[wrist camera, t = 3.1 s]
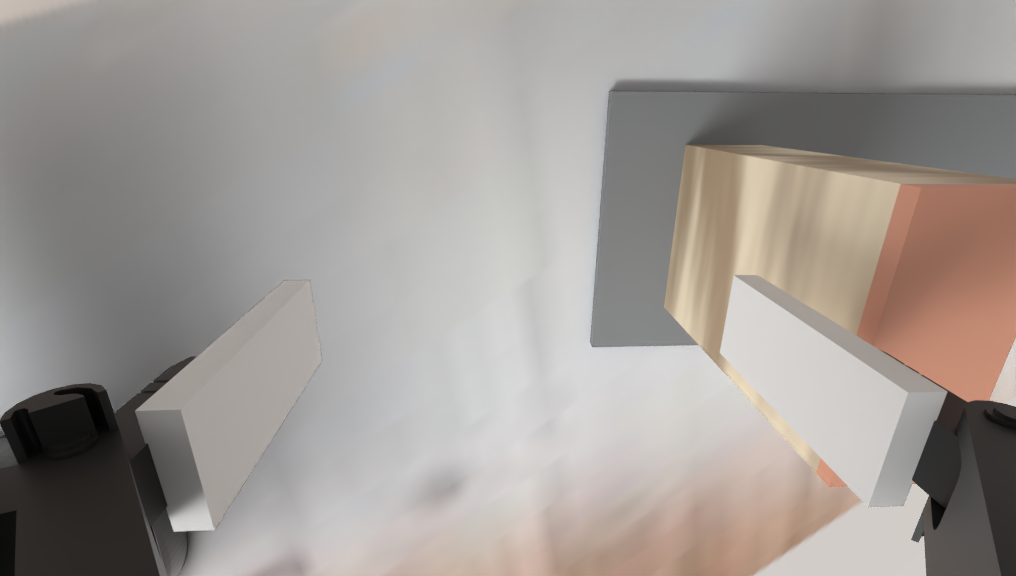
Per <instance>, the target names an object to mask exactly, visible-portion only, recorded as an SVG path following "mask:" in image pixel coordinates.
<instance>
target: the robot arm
mask: <svg viewBox="0 0 1016 576" xmlns="http://www.w3.org/2000/svg"><path fill="white" fill-rule="evenodd" d="M720 354H721V355H722V356H723V357H724V358H725V359H726V360H727V361H728V362H729V363H730V364H731V365H732V366H733V367H734V368H735V369H736V370H737V371H738V372H739V373H740V374H741V376H742V377H743V378H744V379H745V380H746V381H747V382H748V383H749V384H750V385H751V386H752V387H753V388H754V389H755V390H756V391H757V392H758V393H759V394H760V395H761V396H762V397H763V398H764V399H765V401H766V402H767V403H768V404H769V405H770V406H771V407H772V408H773V409H774V410H775V411H776V412H777V413H778V414H779V415H780V416H781V417H782V418H783V419H784V420H785V421H786V422H787V423H788V424H789V425H790V427H791V428H792V429H793V430H794V431H795V432H796V433H797V434H798V435H799V436H800V437H801V438H802V439H803V440H804V441H805V442H806V443H807V444H808V445H809V446H810V447H811V448H812V449H813V450H814V452H815V453H816V454H817V455H818V456H819V457H820V458H821V459H822V460H823V461H824V462H825V463H826V464H827V465H828V466H829V467H830V468H831V469H832V470H833V471H834V472H835V473H836V474H837V475H838V476H839V478H840V479H841V480H842V481H843V482H844V483H845V484H846V485H847V486H848V487H849V488H850V489H851V490H852V491H853V492H854V493H855V494H856V495H857V496H858V497H859V498H860V499H861V500H862V501H863V503H864V504H865V505H866V506H867V507H887V506H904V504H905V501H906V499H907V496H908V493H909V491H910V488H911V486H912V483H913V481H914V482H915V483H916V484H917V485H918V486H919V487H920V488H922V489H923V490H924V491H925V492H926V493H927V494H929V497H928V500H927V503H926V505H925V507H924V509H923V512H922V514H921V517H920V519H919V522H918V524H917V527H916V529H915V532H914V534H913V537H912V540H913V541H916V542H919V540H920V538H921V536H924V540H925V558H926V575H927V576H1016V407H1014V406H1010V405H1007V404H1003V403H998V402H993V401H984V400H974V401H970V402H967V401H965V400H963V399H962V398H960V397H958V396H957V395H955V394H953V393H952V392H950V391H949V390H947V389H945V388H944V387H942V386H940V385H939V384H937V383H935V382H934V381H932V380H930V379H929V378H927V377H926V376H924V375H920V374H919V372H917V371H916V370H914V369H912V368H911V367H909V366H905V365H904V363H903V362H901V361H899V360H898V359H896V358H894V357H893V356H891V355H889V354H888V353H886V352H884V351H881V350H879V349H877V348H876V347H874V346H872V345H871V344H869V343H867V342H866V341H864V340H863V339H861V338H859V337H858V336H856V335H854V334H853V333H851V332H850V331H848V330H846V329H845V328H843V327H841V326H840V325H838V324H837V323H835V322H833V321H832V320H830V319H828V318H827V317H825V316H823V315H822V314H820V313H819V312H817V311H815V310H814V309H812V308H810V307H809V306H807V305H806V304H804V303H802V302H801V301H799V300H797V299H796V298H794V297H793V296H791V295H789V294H788V293H786V292H784V291H783V290H781V289H779V288H778V287H776V286H775V285H773V284H771V283H770V282H768V281H766V280H765V279H763V278H762V277H760V276H758V275H734V277H733V282H732V288H731V293H730V299H729V304H728V310H727V315H726V321H725V326H724V332H723V337H722V343H721V348H720ZM321 362H322V356H321V349H320V342H319V336H318V329H317V322H316V316H315V309H314V302H313V296H312V289H311V282H310V280H284V281H283V282H282V283H281V284H280V285H278V286H277V287H276V288H275V289H274V290H273V291H272V292H270V293H269V294H268V295H267V296H266V297H265V298H264V299H262V300H261V301H260V302H259V303H258V304H257V305H256V306H254V307H253V308H252V309H251V310H250V311H249V312H248V313H246V314H245V315H244V316H243V317H242V318H241V319H239V320H238V321H237V322H236V323H235V324H234V325H233V326H231V327H230V328H229V329H228V330H227V331H226V332H225V333H223V334H222V335H221V336H220V337H219V338H218V339H217V340H215V341H214V342H213V343H212V344H211V345H210V346H209V347H207V348H206V349H205V350H204V351H203V352H202V353H201V354H199V355H198V356H197V357H190V358H188V359H186V360H184V361H182V362H180V363H178V364H176V365H174V366H172V367H170V368H168V369H167V370H166V371H165V372H163V373H162V374H161V375H160V376H159V377H157V378H156V379H155V380H154V383H150V384H149V385H148V386H147V387H145V388H144V389H143V390H142V391H141V394H137V395H136V396H135V397H133V398H132V399H131V400H130V401H129V402H127V403H126V404H125V405H124V406H123V407H121V408H120V409H119V410H118V411H117V412H115V413H114V412H113V409H112V406H111V403H110V400H109V398H108V395H107V392H106V390H105V389H104V388H103V387H102V386H101V385H96V384H90V383H89V384H75V385H69V386H65V387H60V388H55V389H52V390H49V391H46V392H43V393H40V394H37V395H34V396H32V397H30V398H28V399H26V400H24V401H22V402H20V403H18V404H16V405H15V406H13V407H12V408H11V409H9V410H8V411H7V412H5V413H4V415H3V416H2V418H1V420H0V424H1V427H2V429H3V431H4V433H5V436H6V437H4V438H0V576H177V575H178V574H179V572H180V570H181V569H182V566H183V564H184V561H185V558H186V553H187V536H186V531H206V530H215V529H216V527H217V525H218V524H219V522H220V521H221V519H222V517H223V516H224V514H225V513H226V511H227V510H228V508H229V506H230V505H231V503H232V502H233V500H234V499H235V497H236V495H237V494H238V492H239V491H240V489H241V488H242V486H243V484H244V483H245V481H246V480H247V478H248V477H249V475H250V473H251V472H252V470H253V469H254V467H255V466H256V464H257V462H258V461H259V459H260V458H261V456H262V454H263V453H264V451H265V450H266V448H267V447H268V445H269V443H270V442H271V440H272V439H273V437H274V436H275V434H276V432H277V431H278V429H279V428H280V426H281V425H282V423H283V421H284V420H285V418H286V417H287V415H288V414H289V412H290V410H291V409H292V407H293V406H294V404H295V402H296V401H297V399H298V398H299V396H300V395H301V393H302V391H303V390H304V388H305V387H306V385H307V384H308V382H309V380H310V379H311V377H312V376H313V374H314V373H315V371H316V369H317V368H318V366H319V365H320V363H321Z"/></svg>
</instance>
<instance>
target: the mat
mask: <svg viewBox="0 0 1016 576" xmlns="http://www.w3.org/2000/svg"><path fill="white" fill-rule="evenodd" d="M685 145H765V146H773V147H780V148H788V149H795V150H803V151H810V152H818V153H825V154H833V155H840V156H848V157H855V158H863V159H870V160H878V161H885V162H893V163H900V164H907V165H915V166H922V167H930V168H937V169H945V170H952V171H960V172H967V173H975V174H982V175H990V176H997V177H1005V178H1012V179H1016V95H975V94H870V93H765V92H660V91H609V100H608V113H607V127H606V140H605V153H604V166H603V180H602V193H601V206H600V219H599V232H598V246H597V259H596V272H595V285H594V299H593V312H592V325H591V338H590V343H591V345H592V347H624V346H676V345H698V344H697V343H696V341H695V340H694V339H693V338H692V337H691V336H690V335H689V334H688V333H687V332H686V331H685V330H684V328H683V327H682V326H681V325H680V324H679V323H678V322H677V321H676V320H675V319H674V318H673V316H672V315H671V314H670V313H669V312H668V311H667V310H666V309H665V308H664V303H665V295H666V288H667V280H668V273H669V265H670V258H671V250H672V243H673V235H674V227H675V220H676V212H677V205H678V197H679V190H680V182H681V175H682V167H683V159H684V152H685Z"/></svg>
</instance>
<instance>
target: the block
mask: <svg viewBox="0 0 1016 576" xmlns="http://www.w3.org/2000/svg"><path fill="white" fill-rule="evenodd" d="M734 275H758V276H760V277H762V278H763V279H765V280H766V281H768V282H770V283H771V284H773V285H775V286H776V287H778V288H779V289H781V290H783V291H784V292H786V293H788V294H789V295H791V296H793V297H794V298H796V299H797V300H799V301H801V302H802V303H804V304H806V305H807V306H809V307H810V308H812V309H814V310H815V311H817V312H819V313H820V314H822V315H823V316H825V317H827V318H828V319H830V320H832V321H833V322H835V323H837V324H838V325H840V326H841V327H843V328H845V329H846V330H848V331H850V332H851V333H853V334H854V335H856V336H858V337H859V338H861V339H863V340H864V341H866V342H867V343H869V344H871V345H872V346H874V347H876V348H877V349H879V350H881V351H884V352H886V353H888V354H889V355H891V356H893V357H894V358H896V359H898V360H899V361H901V362H903V363H904V365H905V366H909V367H911V368H912V369H914V370H916V371H917V372H919V374H920V375H924V376H926V377H927V378H929V379H930V380H932V381H934V382H935V383H937V384H939V385H940V386H942V387H944V388H945V389H947V390H949V391H950V392H952V393H953V394H955V395H957V396H958V397H960V398H962V399H963V400H965V401H967V402H970V401H974V400H984V401H989V399H990V396H991V394H992V392H993V389H994V387H995V385H996V382H997V380H998V378H999V375H1000V373H1001V371H1002V368H1003V366H1004V363H1005V361H1006V359H1007V356H1008V354H1009V352H1010V349H1011V347H1012V345H1013V342H1014V340H1015V338H1016V179H1012V178H1005V177H997V176H990V175H982V174H975V173H967V172H960V171H952V170H945V169H937V168H930V167H922V166H915V165H907V164H900V163H893V162H885V161H878V160H870V159H863V158H855V157H848V156H840V155H833V154H825V153H818V152H810V151H803V150H795V149H788V148H780V147H773V146H765V145H685V152H684V159H683V167H682V175H681V182H680V190H679V197H678V205H677V212H676V220H675V227H674V235H673V243H672V250H671V258H670V265H669V273H668V280H667V288H666V295H665V303H664V308H665V309H666V310H667V311H668V312H669V313H670V314H671V315H672V316H673V318H674V319H675V320H676V321H677V322H678V323H679V324H680V325H681V326H682V327H683V328H684V330H685V331H686V332H687V333H688V334H689V335H690V336H691V337H692V338H693V339H694V340H695V341H696V343H697V344H698V345H699V346H700V347H701V348H702V349H703V350H704V351H705V352H706V353H707V355H708V356H709V357H710V358H711V359H712V360H713V361H714V362H715V363H716V364H717V365H718V367H719V368H720V369H721V370H722V371H723V372H724V373H725V374H726V375H727V376H728V377H729V379H730V380H731V381H732V382H733V383H734V384H735V385H736V386H737V387H738V388H739V389H740V390H741V392H742V393H743V394H744V395H745V396H746V397H747V398H748V399H749V400H750V401H751V402H752V404H753V405H754V406H755V407H756V408H757V409H758V410H759V411H760V412H761V413H762V414H763V416H764V417H765V418H766V419H767V420H768V421H769V422H770V423H771V424H772V425H773V426H774V427H775V429H776V430H777V431H778V432H779V433H780V434H781V435H782V436H783V437H784V438H785V439H786V441H787V442H788V443H789V444H790V445H791V446H792V447H793V448H794V449H795V450H796V451H797V453H798V454H799V455H800V456H801V457H802V458H803V459H804V460H805V461H806V462H807V463H808V465H809V466H810V467H811V468H812V469H813V470H814V471H815V472H816V473H817V474H818V475H819V476H820V478H821V479H822V480H823V481H824V482H825V483H826V484H827V485H828V486H829V487H840V486H847V485H846V484H845V483H844V482H843V481H842V480H841V479H840V478H839V476H838V475H837V474H836V473H835V472H834V471H833V470H832V469H831V468H830V467H829V466H828V465H827V464H826V463H825V462H824V461H823V460H822V459H821V458H820V457H819V456H818V455H817V454H816V453H815V452H814V450H813V449H812V448H811V447H810V446H809V445H808V444H807V443H806V442H805V441H804V440H803V439H802V438H801V437H800V436H799V435H798V434H797V433H796V432H795V431H794V430H793V429H792V428H791V427H790V425H789V424H788V423H787V422H786V421H785V420H784V419H783V418H782V417H781V416H780V415H779V414H778V413H777V412H776V411H775V410H774V409H773V408H772V407H771V406H770V405H769V404H768V403H767V402H766V401H765V399H764V398H763V397H762V396H761V395H760V394H759V393H758V392H757V391H756V390H755V389H754V388H753V387H752V386H751V385H750V384H749V383H748V382H747V381H746V380H745V379H744V378H743V377H742V376H741V374H740V373H739V372H738V371H737V370H736V369H735V368H734V367H733V366H732V365H731V364H730V363H729V362H728V361H727V360H726V359H725V358H724V357H723V356H722V355H721V354H720V348H721V343H722V337H723V332H724V326H725V321H726V315H727V310H728V304H729V299H730V293H731V288H732V282H733V277H734ZM912 484H916V483H915V482H914V481H913V483H912Z"/></svg>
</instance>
